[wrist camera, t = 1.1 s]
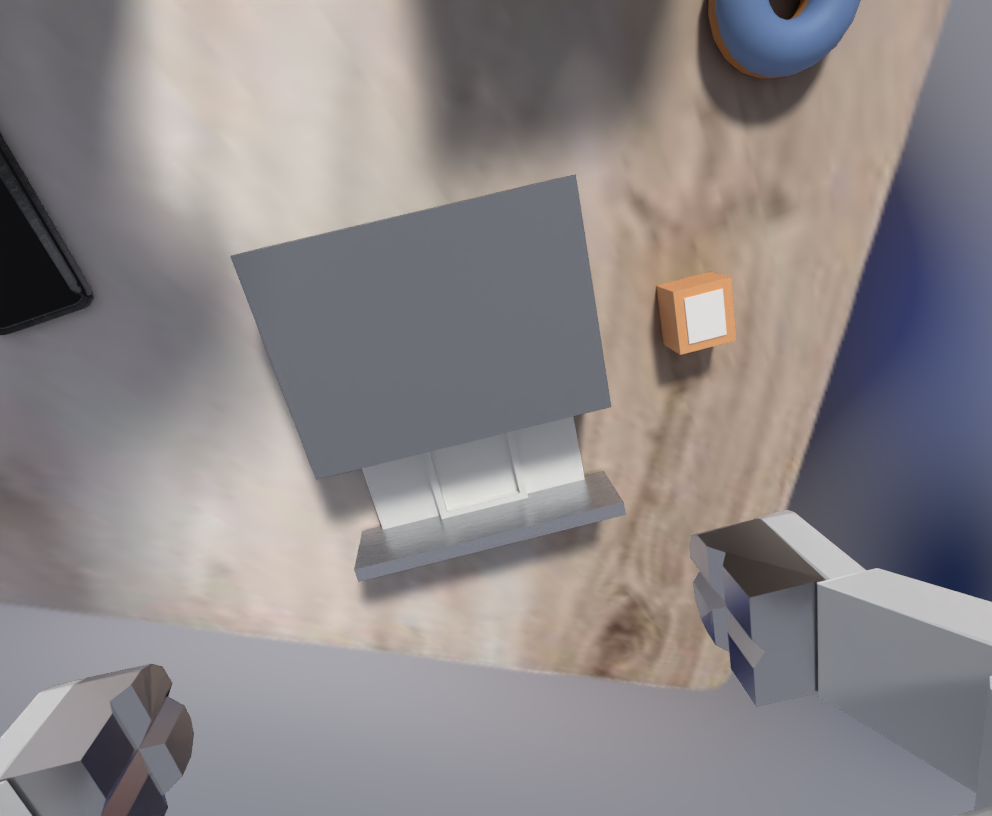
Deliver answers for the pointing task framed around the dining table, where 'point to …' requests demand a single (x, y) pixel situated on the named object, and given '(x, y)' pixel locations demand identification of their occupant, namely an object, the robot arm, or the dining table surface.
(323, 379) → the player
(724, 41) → the doughnut
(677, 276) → the dining table surface
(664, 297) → the block
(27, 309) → the phone
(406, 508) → the tray
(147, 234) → the dining table surface
